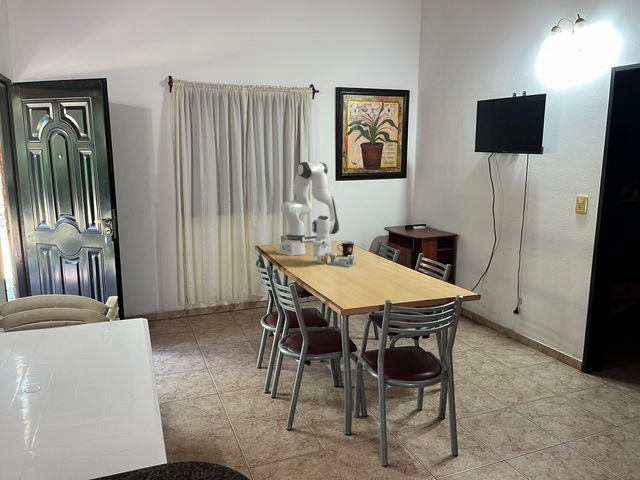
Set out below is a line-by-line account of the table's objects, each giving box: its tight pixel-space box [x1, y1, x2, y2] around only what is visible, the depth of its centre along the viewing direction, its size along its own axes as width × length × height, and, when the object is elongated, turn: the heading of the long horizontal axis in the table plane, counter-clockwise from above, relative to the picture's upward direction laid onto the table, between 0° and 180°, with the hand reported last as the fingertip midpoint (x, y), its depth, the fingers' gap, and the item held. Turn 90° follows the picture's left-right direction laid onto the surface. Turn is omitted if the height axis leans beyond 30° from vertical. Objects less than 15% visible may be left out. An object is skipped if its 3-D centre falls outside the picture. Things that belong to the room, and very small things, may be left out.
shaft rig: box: [326, 252, 357, 268], centre depth 330 cm, size 18×11×7 cm, turn 61°
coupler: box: [317, 255, 328, 265], centre depth 332 cm, size 4×4×5 cm
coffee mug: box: [336, 240, 355, 258], centre depth 357 cm, size 12×9×10 cm
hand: (322, 261), depth 332 cm, fingers open, 7 cm apart
